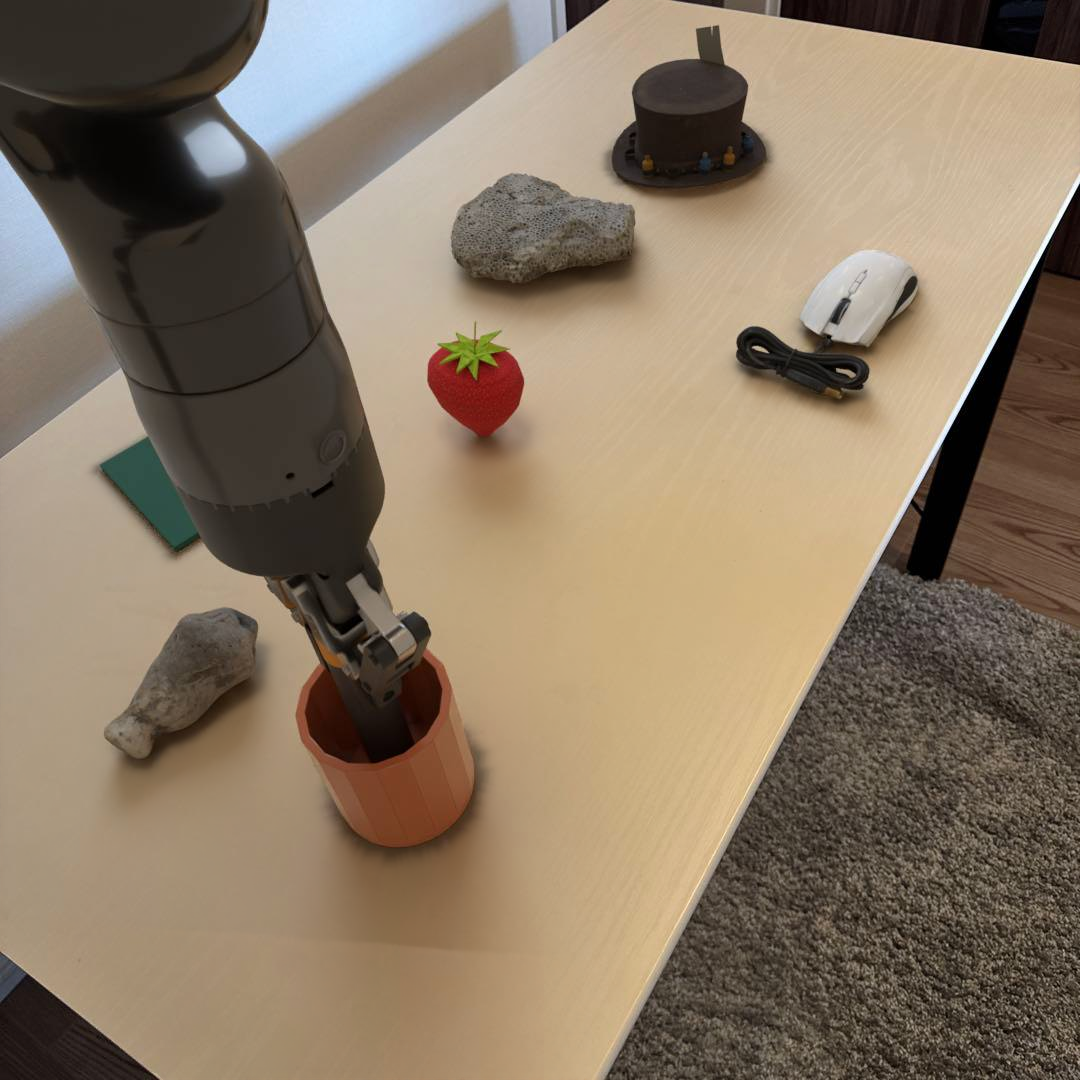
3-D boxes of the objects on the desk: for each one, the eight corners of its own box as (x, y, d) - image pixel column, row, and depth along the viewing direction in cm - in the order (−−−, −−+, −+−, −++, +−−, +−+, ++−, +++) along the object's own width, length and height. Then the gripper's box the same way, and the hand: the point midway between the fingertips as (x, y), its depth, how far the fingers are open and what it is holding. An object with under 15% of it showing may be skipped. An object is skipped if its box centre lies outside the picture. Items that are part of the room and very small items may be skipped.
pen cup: (392, 876, 56) (355, 803, 49) (312, 781, 60) (267, 701, 53) (502, 782, 59) (482, 700, 52) (418, 697, 63) (389, 611, 56)
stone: (136, 786, 62) (203, 745, 57) (67, 726, 60) (129, 678, 56) (226, 679, 69) (291, 635, 65) (167, 623, 68) (229, 574, 63)
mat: (176, 552, 72) (173, 547, 72) (101, 469, 79) (99, 464, 78) (315, 463, 77) (313, 458, 77) (234, 391, 83) (232, 387, 83)
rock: (630, 301, 86) (629, 250, 83) (444, 303, 88) (435, 254, 85) (638, 203, 96) (637, 154, 92) (469, 207, 98) (462, 159, 94)
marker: (392, 796, 56) (331, 654, 46) (364, 764, 58) (299, 620, 47) (430, 765, 57) (380, 619, 47) (402, 735, 59) (346, 586, 48)
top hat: (785, 184, 96) (796, 74, 88) (628, 209, 95) (625, 100, 87) (741, 108, 105) (748, 3, 97) (599, 131, 105) (594, 27, 97)
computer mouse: (947, 284, 84) (958, 242, 81) (849, 415, 75) (857, 374, 72) (834, 250, 88) (840, 209, 85) (729, 370, 80) (732, 329, 77)
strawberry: (465, 394, 81) (445, 289, 73) (546, 423, 78) (534, 317, 70) (422, 441, 78) (396, 337, 70) (505, 473, 75) (488, 368, 67)
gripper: (86, 389, 40) (227, 641, 53) (277, 587, 32) (385, 823, 46) (249, 300, 43) (344, 560, 56) (458, 464, 35) (511, 719, 48)
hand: (362, 677), depth 51 cm, fingers closed on marker, 2 cm apart
